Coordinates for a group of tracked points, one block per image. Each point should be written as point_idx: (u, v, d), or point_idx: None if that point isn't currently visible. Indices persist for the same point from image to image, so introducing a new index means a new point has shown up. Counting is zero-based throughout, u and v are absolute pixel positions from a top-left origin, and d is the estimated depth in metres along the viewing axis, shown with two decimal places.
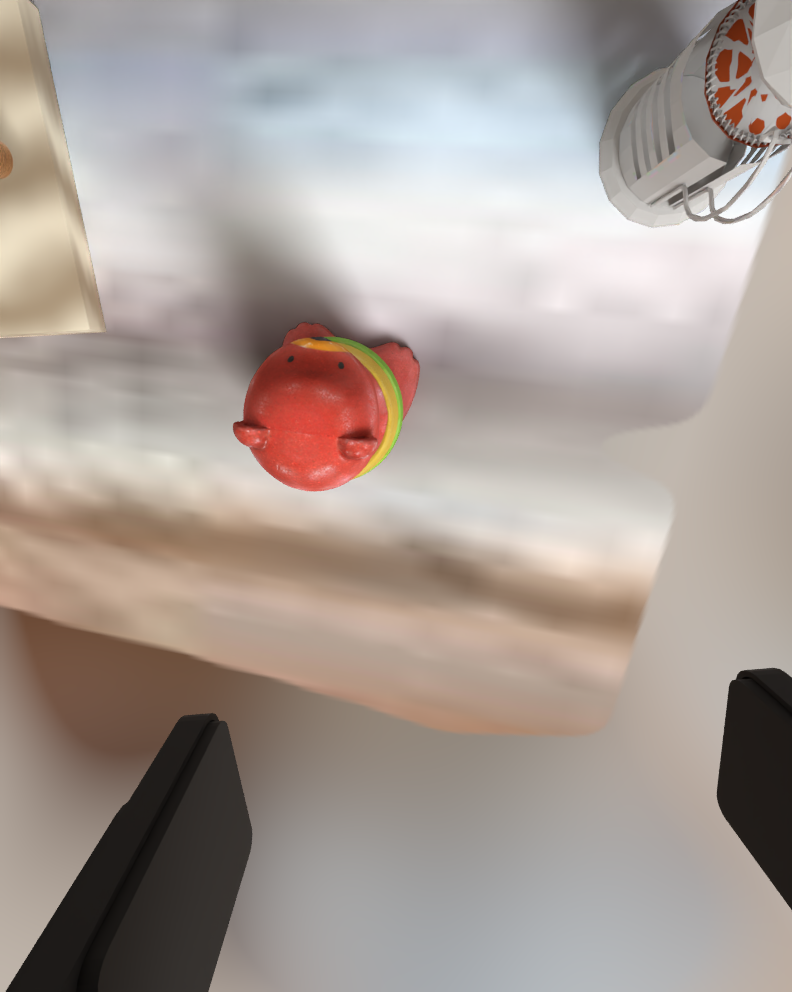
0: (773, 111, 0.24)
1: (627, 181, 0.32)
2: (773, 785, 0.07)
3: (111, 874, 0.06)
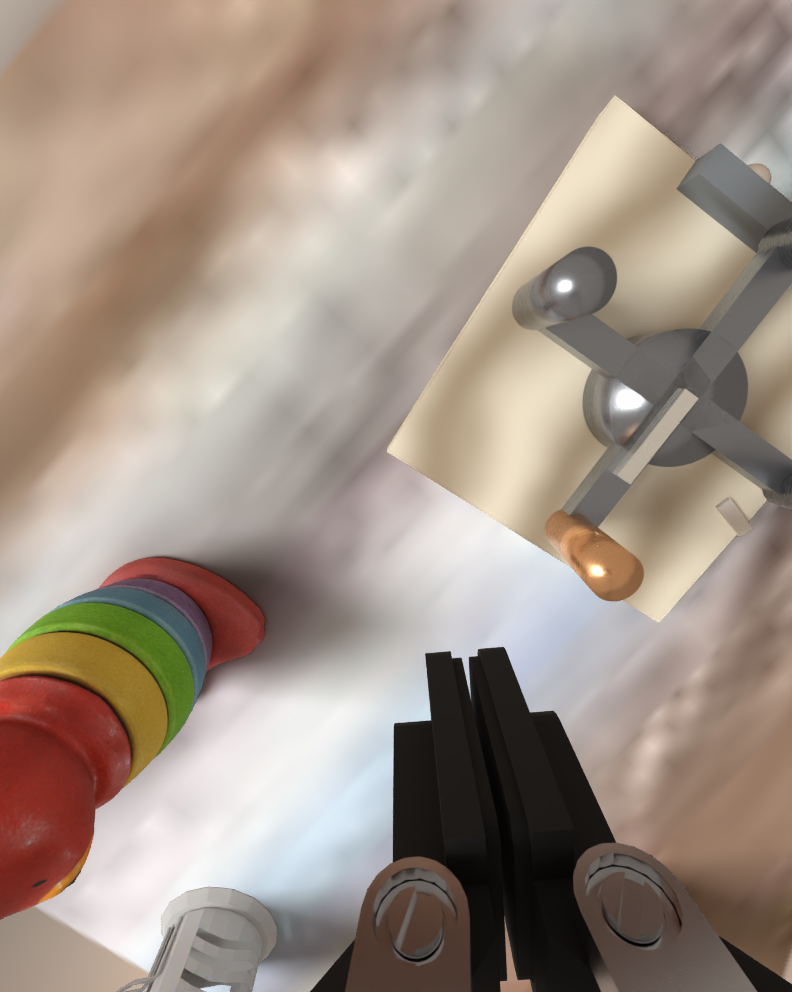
0: None
1: (208, 910, 0.37)
2: (480, 745, 0.09)
3: (460, 762, 0.07)
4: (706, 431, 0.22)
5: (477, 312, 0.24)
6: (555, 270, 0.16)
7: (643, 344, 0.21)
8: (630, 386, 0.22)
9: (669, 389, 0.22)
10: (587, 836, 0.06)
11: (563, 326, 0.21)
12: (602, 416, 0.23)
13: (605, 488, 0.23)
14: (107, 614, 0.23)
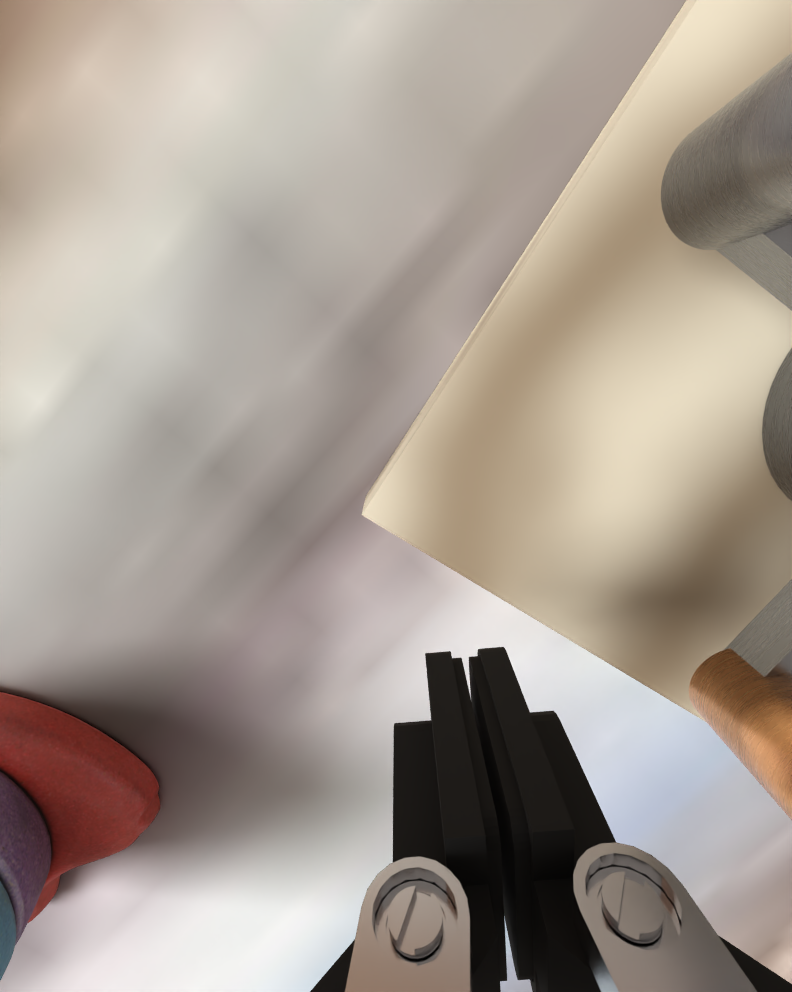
0: None
1: None
2: (480, 745, 0.09)
3: (459, 762, 0.07)
4: None
5: (553, 224, 0.11)
6: None
7: None
8: None
9: None
10: (587, 836, 0.06)
11: None
12: None
13: None
14: None
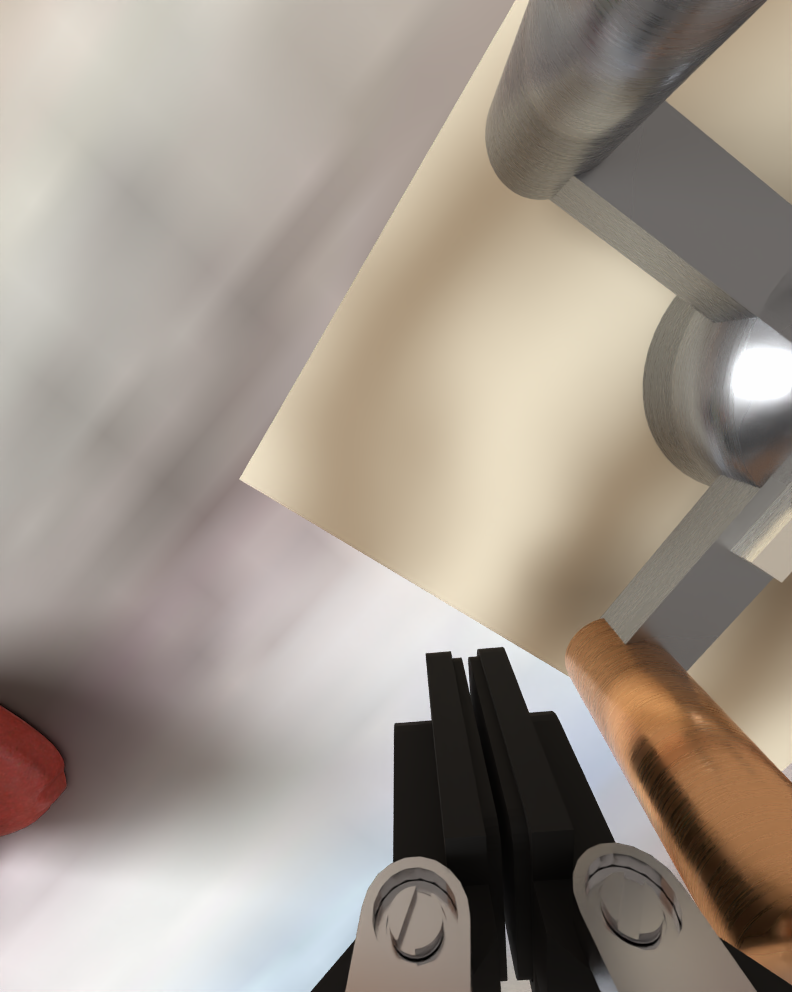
0: None
1: None
2: None
3: (460, 762, 0.07)
4: None
5: (418, 175, 0.11)
6: None
7: None
8: None
9: None
10: (586, 836, 0.06)
11: (624, 171, 0.08)
12: (705, 415, 0.10)
13: (712, 585, 0.10)
14: None
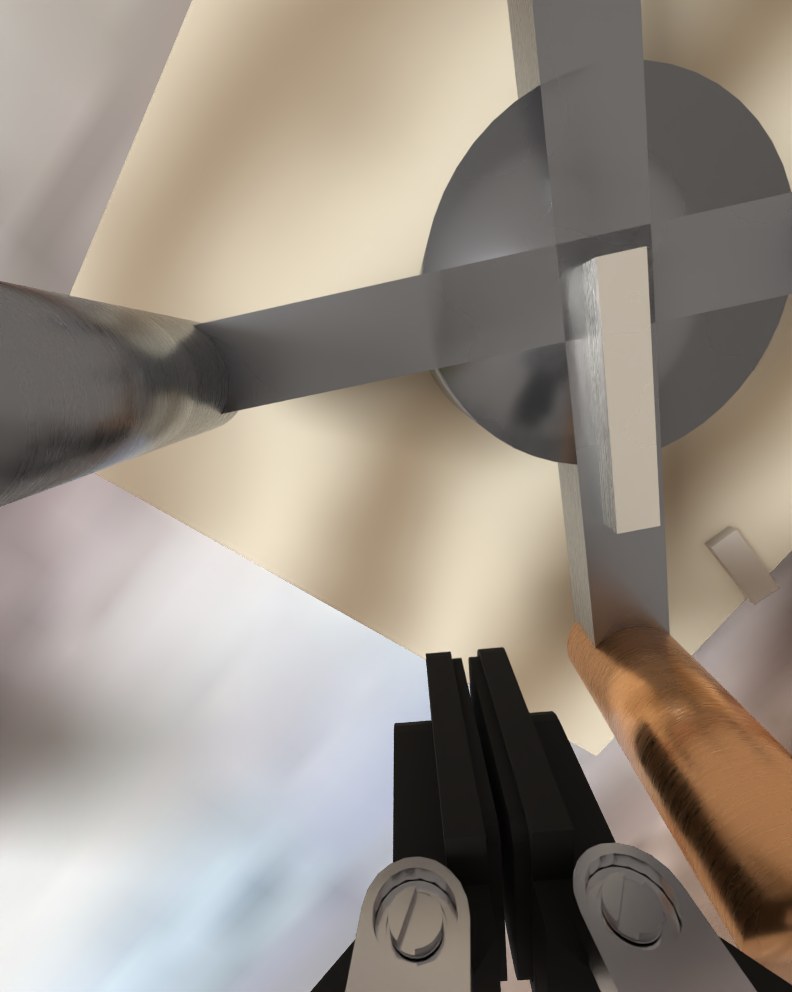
0: None
1: None
2: (480, 745, 0.09)
3: (460, 762, 0.07)
4: (730, 282, 0.08)
5: (155, 99, 0.10)
6: None
7: (425, 257, 0.08)
8: (482, 354, 0.08)
9: (565, 283, 0.08)
10: (587, 836, 0.06)
11: (247, 379, 0.09)
12: None
13: (617, 556, 0.09)
14: None
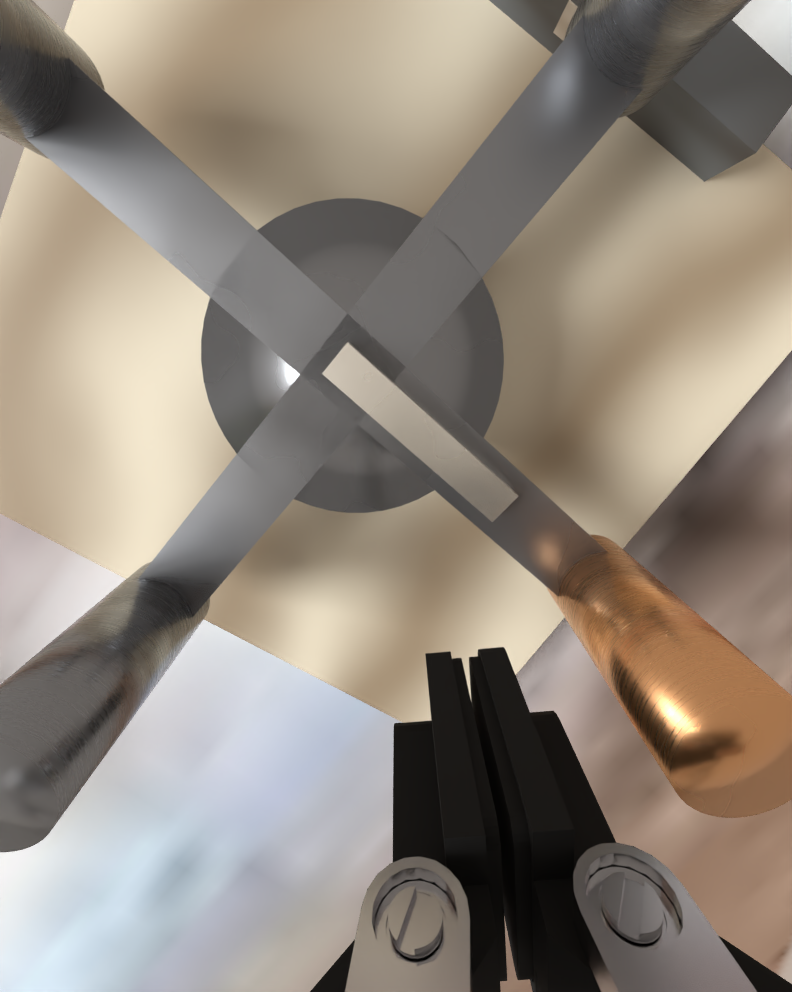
0: None
1: None
2: (481, 745, 0.09)
3: (459, 762, 0.07)
4: (434, 303, 0.09)
5: (12, 194, 0.12)
6: None
7: (230, 443, 0.10)
8: (312, 471, 0.10)
9: (325, 390, 0.10)
10: (587, 836, 0.06)
11: (191, 587, 0.11)
12: None
13: (517, 526, 0.11)
14: None
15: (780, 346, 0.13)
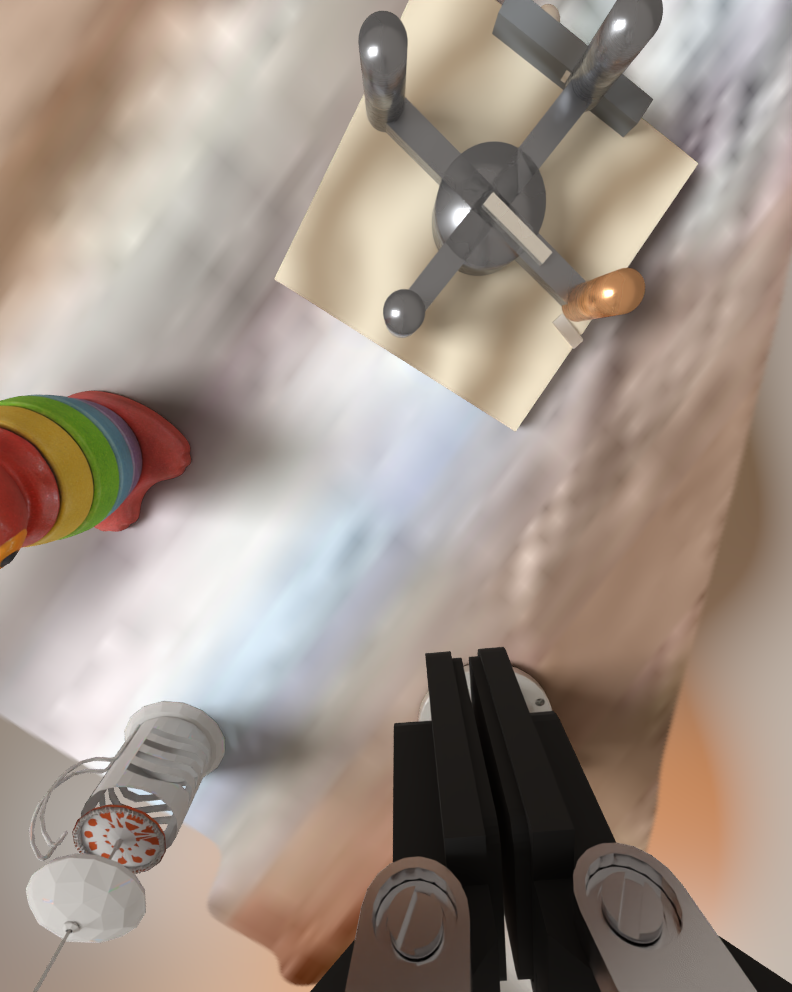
0: (97, 831, 0.36)
1: (162, 718, 0.43)
2: (480, 745, 0.09)
3: (459, 762, 0.07)
4: (521, 179, 0.27)
5: (338, 149, 0.29)
6: (394, 331, 0.24)
7: (443, 237, 0.27)
8: (473, 248, 0.28)
9: (480, 214, 0.27)
10: (587, 836, 0.06)
11: None
12: (492, 268, 0.29)
13: (551, 271, 0.28)
14: (40, 400, 0.28)
15: (660, 209, 0.30)
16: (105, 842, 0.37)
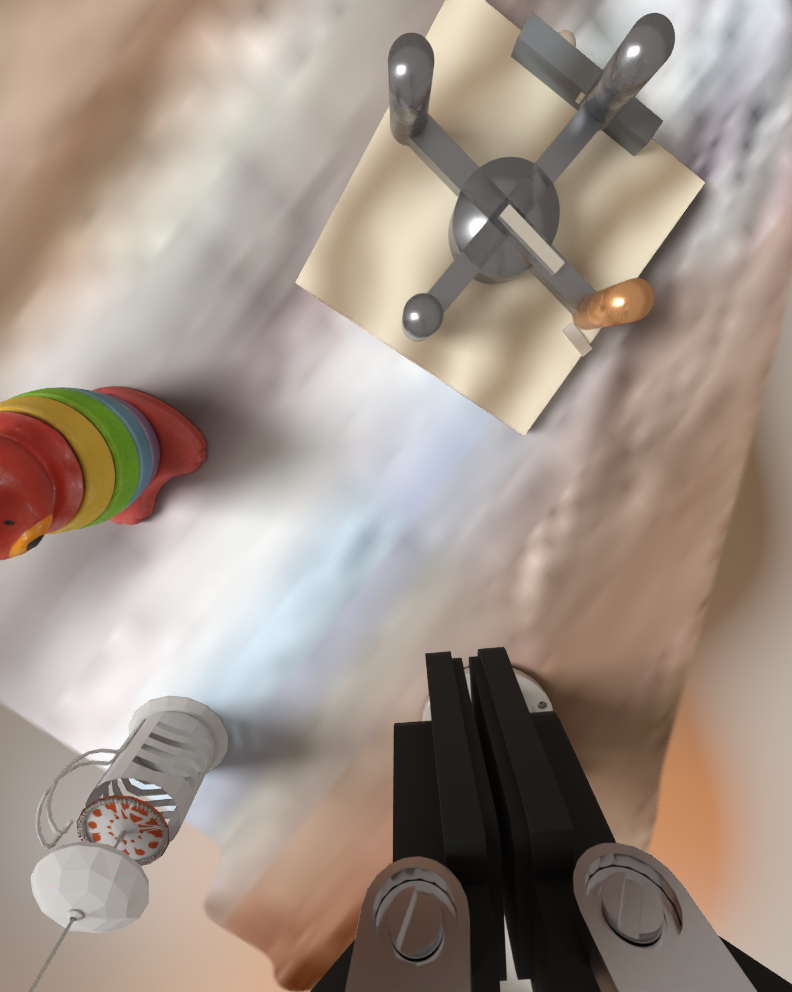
0: (101, 822, 0.36)
1: (168, 712, 0.44)
2: (480, 745, 0.09)
3: (459, 762, 0.07)
4: (536, 193, 0.28)
5: (361, 161, 0.30)
6: (413, 333, 0.25)
7: (460, 246, 0.29)
8: (489, 257, 0.29)
9: (496, 225, 0.28)
10: (587, 836, 0.06)
11: None
12: (506, 277, 0.30)
13: (563, 281, 0.29)
14: (67, 392, 0.29)
15: (668, 224, 0.31)
16: (108, 834, 0.37)
